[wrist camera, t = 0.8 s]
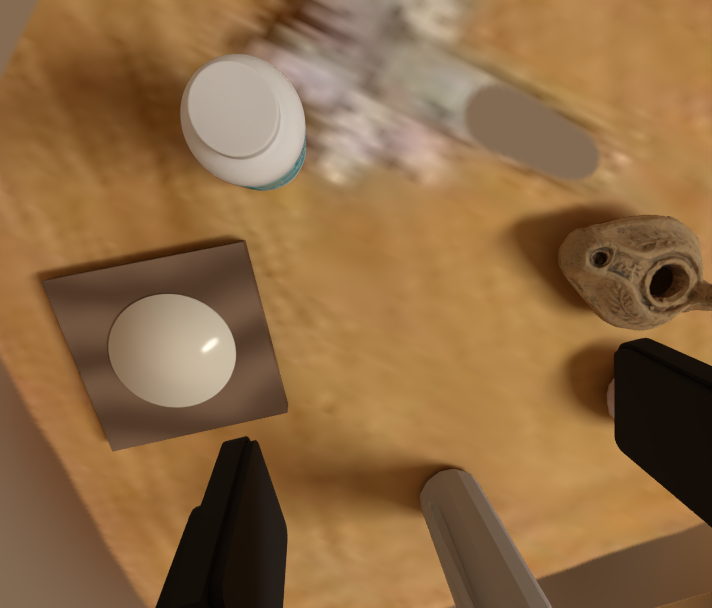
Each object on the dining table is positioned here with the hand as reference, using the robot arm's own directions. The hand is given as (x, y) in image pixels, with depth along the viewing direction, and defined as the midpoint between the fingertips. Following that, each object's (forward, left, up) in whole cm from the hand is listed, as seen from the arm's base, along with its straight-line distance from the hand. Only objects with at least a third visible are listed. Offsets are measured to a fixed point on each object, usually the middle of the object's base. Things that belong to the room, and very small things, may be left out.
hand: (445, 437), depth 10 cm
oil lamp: (+6, +26, -28) cm, 39 cm away
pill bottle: (-11, -5, -28) cm, 31 cm away
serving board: (+5, -17, -28) cm, 33 cm away
